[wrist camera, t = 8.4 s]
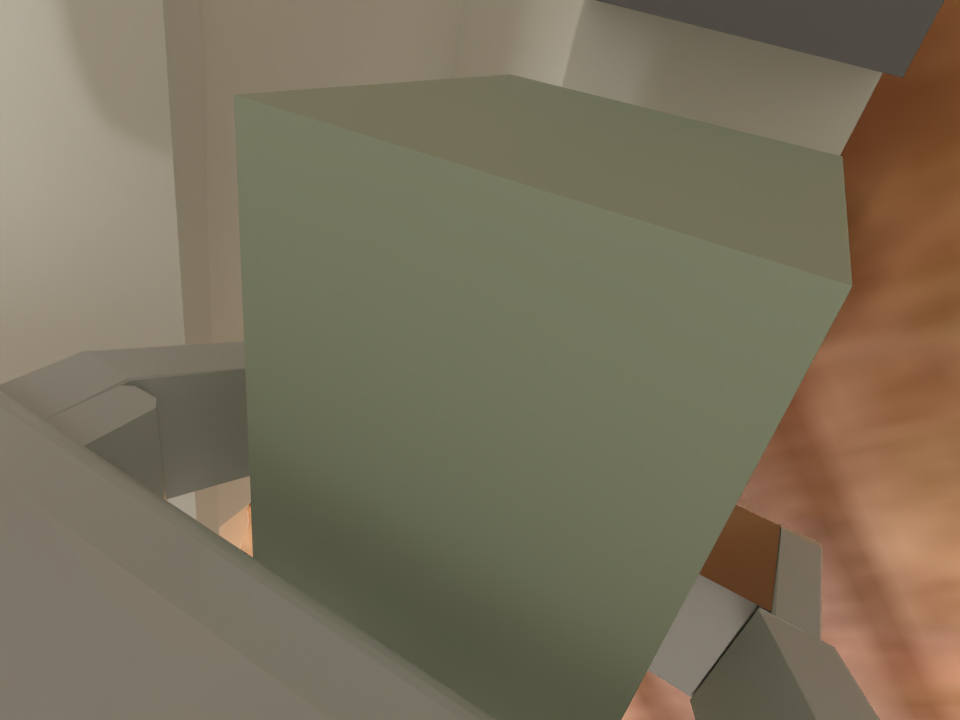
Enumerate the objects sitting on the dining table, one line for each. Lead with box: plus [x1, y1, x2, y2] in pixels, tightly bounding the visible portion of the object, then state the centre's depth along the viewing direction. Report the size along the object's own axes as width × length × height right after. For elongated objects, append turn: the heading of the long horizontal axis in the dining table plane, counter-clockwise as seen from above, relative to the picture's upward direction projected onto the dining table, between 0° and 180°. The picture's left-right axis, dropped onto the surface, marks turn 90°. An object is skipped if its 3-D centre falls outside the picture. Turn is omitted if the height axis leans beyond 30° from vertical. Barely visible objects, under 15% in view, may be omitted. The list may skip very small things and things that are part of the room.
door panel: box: [234, 74, 852, 720], centre depth 8 cm, size 9×4×6 cm, turn 169°
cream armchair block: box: [0, 0, 944, 535], centre depth 14 cm, size 14×19×10 cm
